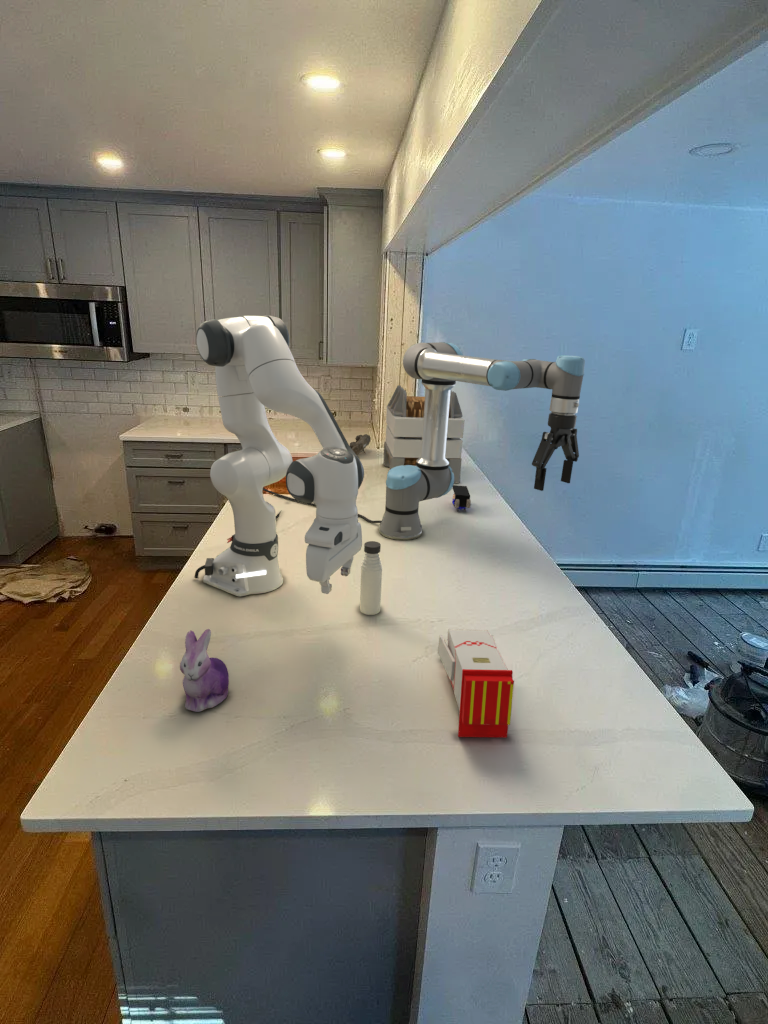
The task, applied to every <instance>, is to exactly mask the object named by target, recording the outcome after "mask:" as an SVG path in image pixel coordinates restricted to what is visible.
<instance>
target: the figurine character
mask: <svg viewBox="0 0 768 1024" xmlns="http://www.w3.org/2000/svg"><path fill="white" fill-rule="evenodd" d="M452 490H453V494H452V501H451V503H452V504H453V507H454V508H456V511H457V512H460V510H463V511H464V513H466V512H467V509H470V508H471V505H472V504H471V501H472V500H471V494H470V491H469V488H468V486H467V485H456V484H453V487H452ZM466 508H467V509H466Z"/></svg>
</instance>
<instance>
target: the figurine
mask: <svg viewBox="0 0 768 1024" xmlns="http://www.w3.org/2000/svg"><path fill="white" fill-rule="evenodd" d="M211 636H212V630H211V628H207V629H205V630H204V631H203V632H202V633H201V635H200V636H199V638H198V639H197V635H196V633H195V632H194V631H193V630H189V631H188V632H187V633H186V635H185V640H184V641H185V642H184V644H185V645H184V648H185V652H184V653H183V656H182V658H181V660H180V662H179V670H180V672H181V673H182V675H184V677H183V679H182V688H183V691H184V694H185V697H186V699H185V702H184V703H185V704H184V707H185V709H186V710H188V711H192V712H195V713H196V712H202V711H205V710H207V709H212V708H215V707H217V706H218V705H219V704H221V703H222V702H223V701H225V700H226V699H227V698H228V694H229V685H230V679H229V678H230V675H229V670H228V667H227V664H225V662H224V661H223V660H222V659H220V658H218V657H210V656H209V654H208V648H209V644H210V641H211Z"/></svg>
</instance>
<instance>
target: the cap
mask: <svg viewBox="0 0 768 1024" xmlns="http://www.w3.org/2000/svg"><path fill="white" fill-rule="evenodd" d="M363 552H365V554H366V553H368V554H377V553H378V554H380V553H381V543H380V542H379V541H373V540H370V541H369V540H368V541H366V542H364V544H363Z"/></svg>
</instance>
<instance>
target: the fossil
mask: <svg viewBox="0 0 768 1024" xmlns="http://www.w3.org/2000/svg"><path fill="white" fill-rule="evenodd" d="M354 440H355V441H351V442H350V443H349V446H350V447H351V449H352V450H353V451H354V453H355V454H356V455H357V456H358V455H359V454H360V453H361V452H363V453H364V454H366V452H365V449H366V448H367V446H369V445H370V443H371V440H372V439H371V436H370V434H367V433H365V434H358V435H356V436H355V438H354Z"/></svg>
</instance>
